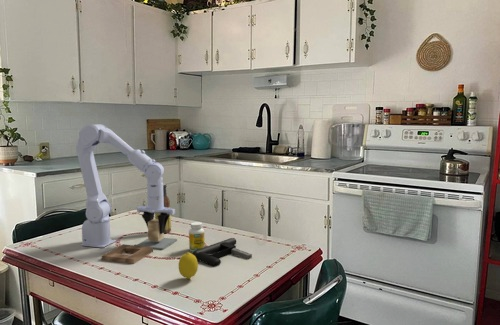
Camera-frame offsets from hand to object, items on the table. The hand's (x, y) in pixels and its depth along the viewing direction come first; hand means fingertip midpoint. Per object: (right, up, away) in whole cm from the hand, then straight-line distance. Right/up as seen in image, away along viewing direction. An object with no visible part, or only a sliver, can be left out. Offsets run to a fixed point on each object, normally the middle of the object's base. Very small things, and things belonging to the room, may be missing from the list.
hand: (156, 232), depth 147 cm
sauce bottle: (-1, -3, +15) cm, 16 cm away
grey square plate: (0, -4, +1) cm, 4 cm away
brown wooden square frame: (-7, -6, -12) cm, 15 cm away
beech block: (0, -3, 0) cm, 3 cm away
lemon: (+17, -8, -31) cm, 36 cm away
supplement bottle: (+16, -5, -6) cm, 18 cm away
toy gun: (+26, -6, -12) cm, 30 cm away
